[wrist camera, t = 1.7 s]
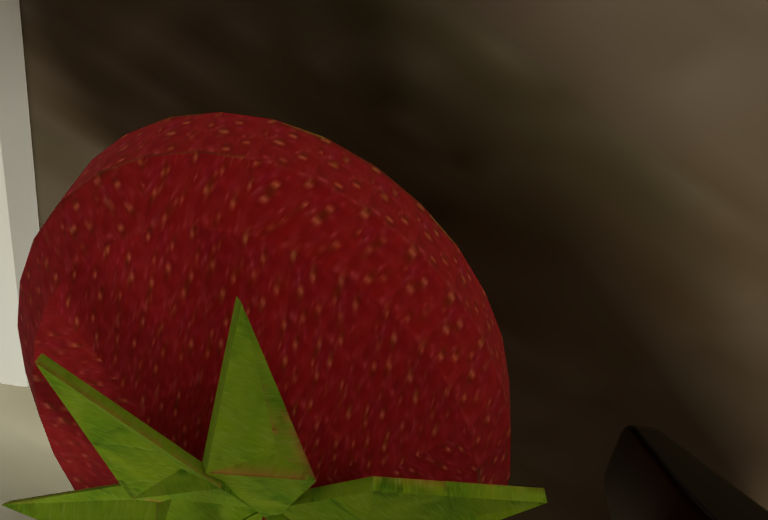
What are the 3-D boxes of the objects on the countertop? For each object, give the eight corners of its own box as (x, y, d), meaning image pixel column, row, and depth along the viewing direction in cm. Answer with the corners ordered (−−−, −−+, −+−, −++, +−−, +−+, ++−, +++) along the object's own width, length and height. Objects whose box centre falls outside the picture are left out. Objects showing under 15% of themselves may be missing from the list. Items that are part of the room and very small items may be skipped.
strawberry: (371, 6, 11) (225, 31, 2) (519, 319, 14) (749, 951, 5) (122, 144, 12) (-680, 550, 3) (301, 408, 15) (140, 1046, 6)
